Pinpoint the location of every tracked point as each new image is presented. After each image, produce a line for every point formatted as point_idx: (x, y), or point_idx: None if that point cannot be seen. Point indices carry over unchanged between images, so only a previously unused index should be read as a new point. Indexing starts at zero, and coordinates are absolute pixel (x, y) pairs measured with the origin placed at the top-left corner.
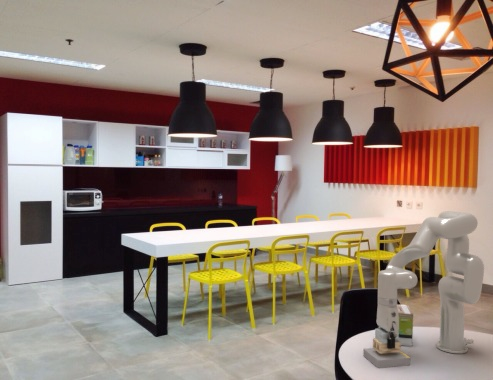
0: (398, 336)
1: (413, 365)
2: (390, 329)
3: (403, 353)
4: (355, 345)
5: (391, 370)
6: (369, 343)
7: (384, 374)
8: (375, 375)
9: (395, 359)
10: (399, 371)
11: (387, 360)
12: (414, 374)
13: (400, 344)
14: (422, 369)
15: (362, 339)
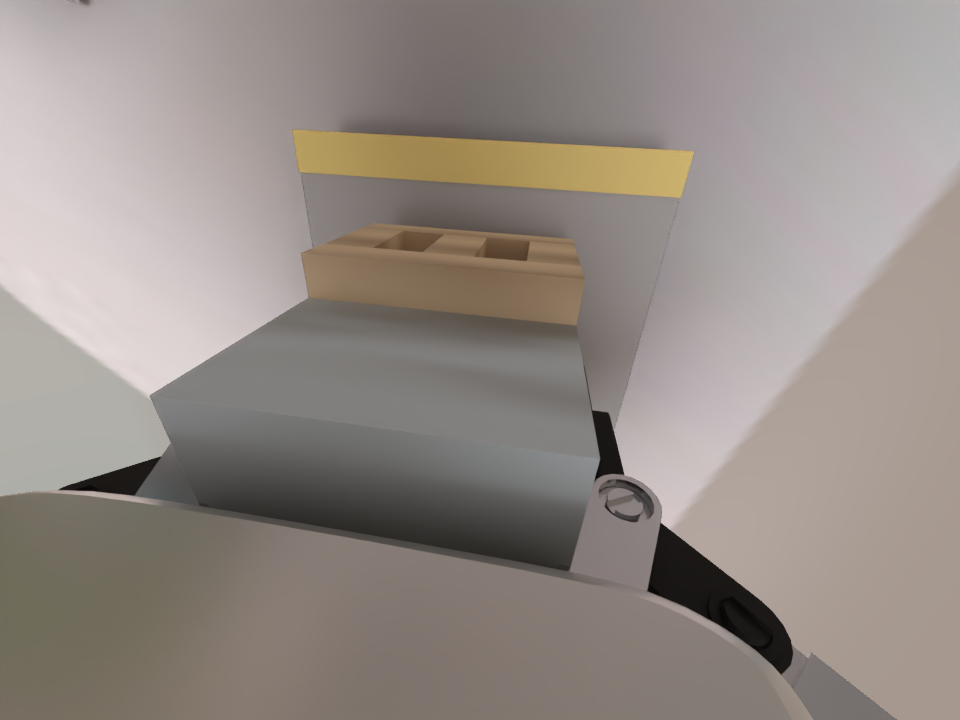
0: (586, 386)
1: (689, 110)
2: (321, 494)
3: (545, 158)
4: (178, 367)
5: (668, 395)
6: (109, 234)
7: (695, 473)
8: (675, 522)
9: (635, 351)
10: (719, 350)
11: (613, 423)
12: (859, 260)
13: (580, 270)
14: (839, 65)
15: (26, 242)
